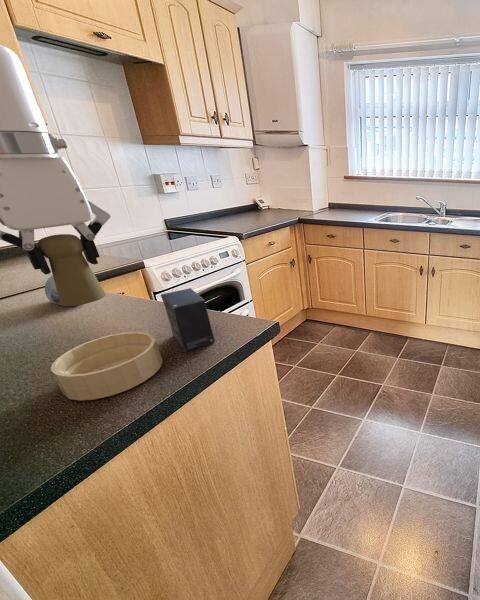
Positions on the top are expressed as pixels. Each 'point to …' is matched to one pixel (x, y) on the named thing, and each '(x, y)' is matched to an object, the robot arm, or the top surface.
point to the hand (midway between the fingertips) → (70, 266)
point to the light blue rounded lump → (51, 290)
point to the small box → (188, 318)
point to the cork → (71, 270)
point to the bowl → (107, 365)
